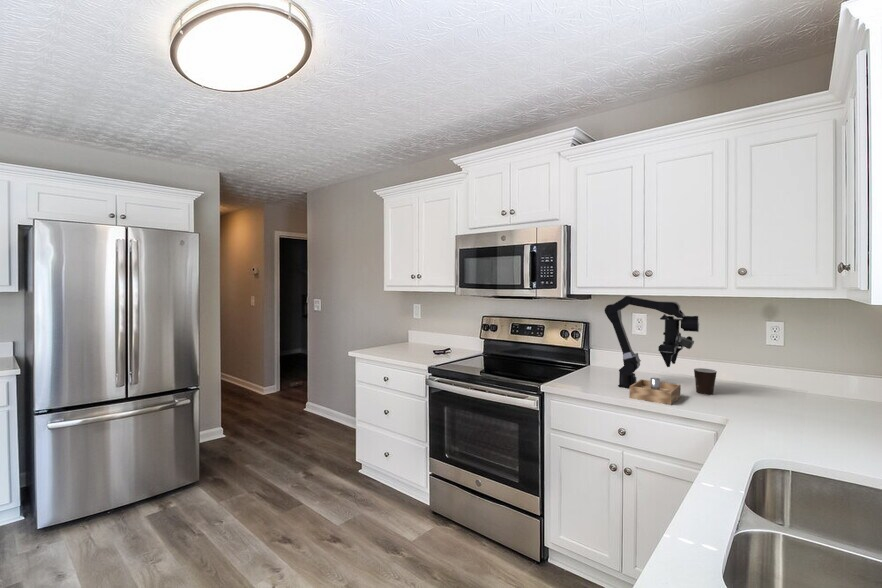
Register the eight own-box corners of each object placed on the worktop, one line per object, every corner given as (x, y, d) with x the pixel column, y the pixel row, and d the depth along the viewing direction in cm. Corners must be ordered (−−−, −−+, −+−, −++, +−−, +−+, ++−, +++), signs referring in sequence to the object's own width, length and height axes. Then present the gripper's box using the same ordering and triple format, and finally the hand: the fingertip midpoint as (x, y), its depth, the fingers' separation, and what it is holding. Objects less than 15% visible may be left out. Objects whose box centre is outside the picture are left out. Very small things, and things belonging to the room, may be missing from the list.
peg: (649, 397, 190) (649, 378, 190) (651, 395, 193) (652, 377, 192) (658, 399, 188) (658, 380, 187) (660, 397, 190) (661, 378, 190)
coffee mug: (711, 396, 191) (712, 373, 191) (690, 392, 198) (690, 370, 197) (721, 392, 198) (722, 369, 198) (700, 388, 205) (701, 366, 205)
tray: (629, 397, 189) (629, 386, 189) (640, 390, 202) (641, 379, 201) (670, 405, 179) (671, 392, 179) (680, 396, 191) (680, 385, 191)
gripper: (687, 334, 185) (686, 371, 185) (697, 329, 199) (696, 364, 200) (658, 331, 192) (657, 367, 193) (669, 327, 206) (668, 361, 207)
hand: (671, 365), depth 198 cm, fingers open, 9 cm apart
